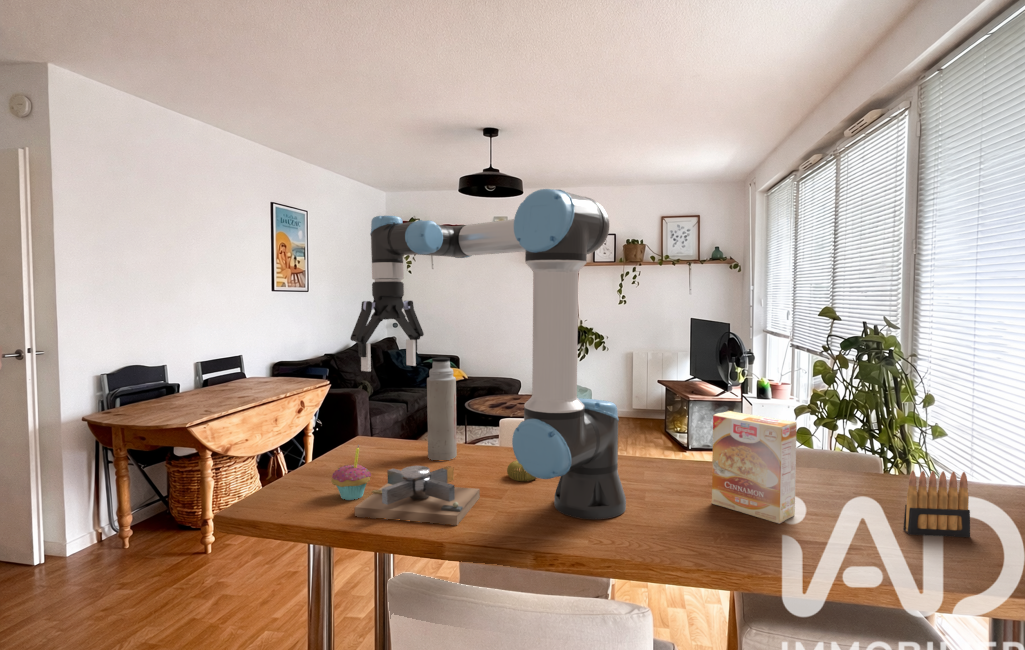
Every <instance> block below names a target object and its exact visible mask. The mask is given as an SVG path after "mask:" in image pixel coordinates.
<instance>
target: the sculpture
mask: <svg viewBox="0 0 1025 650" xmlns="http://www.w3.org/2000/svg"><path fill="white" fill-rule="evenodd" d="M506 472H507V475H508V477H509V478H510V479H511V480H513V481H516V482H530V481H533V480H535V479H537V477H534V476H532V475H531V474H529V473H528V472H526V471H525V470H524V468H523V466H522V465H521V464H519V462H518V460H517V459H516V460H514V461H512V462H510V463H509V464H508V466H507V469H506Z"/></svg>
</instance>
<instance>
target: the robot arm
mask: <svg viewBox="0 0 1025 650" xmlns="http://www.w3.org/2000/svg"><path fill="white" fill-rule="evenodd" d="M370 223H371V224H370V227H371V228H370V250H371V251H370V252H371V254H370V255H371V279H372V280H374V281H373V282H372V284H371V294H372V297H373V302H372V301H371V300H363V301H361V307H360V313H359V315H358V318H357V320H356V323H355V325H354V327H353V330H352V333H351V335H350V340H351V341H352V342H355V343H357V347H358V349H357V350H358V357H359V358H360V365H361V366H360V370H361V372H371V371H372V364H371V363H372V362H371V361H372V360H371V359H372V358H371V356H372V354H371V343H368V342H369V340H370V338H371V337H372V335H373V334H374V332H375V331H376V329H377V328H378V326H379V325H380V323H381V322H382V321H383V320H395V322H397V323H398V325H399V327H400V328H401V329H402V330H403V332H404V333H405V335H406V336H407V337H408V339H406V340H405V344H406V345H405V346H406V347H405V348H406V349H405V351H406V352H405V353H406V356H405V357H406V366H413V367H416V366H417V364H416V363H417V360H416V358H417V357H416V353H417V352H418V340H421V338H422V337H423V336H424V335H425V333H424V330H423V329H422V326H421V323H420V321H419V318H418V316H417V314H416V311H415V309H414V308H415V307H414V301H413V300H403V297H404V295H405V287H404V285H405V283H403V281H402V280H404V278H405V277H404V256H412V255H413V256H418V255H419V256H431V257H432V256H433V257H434V256H436V257H448V258H449V257H450V258H455V259H465V258H470V257H472V256H483V255H484V256H485V255H496V254H510V253H511V254H513V253H521V252H522V253H525V255H524V260H525V264H526V266H527V267H528V268H530V269H531V271H532V371H531V372H532V374H531V375H532V377H531V379H532V381H531V382H532V388H531V389H532V391H531V392H532V393H531V394H532V395H531V397H530V398H528V400H527V401H526V402H525V403H524V404H523V405H524V407H523V409H524V410H523V415H524V416H523V420H522V421H521V422H520V423H519V424H518V426H517V427H516V428H515V429H514V431H513V434H512V440H511V441H512V442H511V443H512V444H511V445H512V451H513V454H514V456H515V459H516V461H517V460H518V462H519V464H521V465H522V466H523V468H524V470H525V471H526V472H528V473H529V474H531V475H532V476H534V477H536V479H541V480H551V479H554V478H559V479H558V482H557V485H556V486H557V487H556V488H555V493H554V497H553V499H554V501H553V503H554V505H553V506H554V508H555V510H557V511H558V512H559V513H561V514H562V515H565V516H569V517H572V518H577V519H582V520H583V519H585V520H605V519H610V518H615V517H618V516H620V515H622V514H624V513H625V511H626V509H627V497H626V494H625V491H624V488H623V485H622V481H621V478H620V474H619V472H618V469H619V467H618V466H619V465H618V463H619V462H618V459H619V458H618V457H619V421H620V420H619V417H618V416H619V415H618V414H619V413H618V407H617V404H615V403H614V402H612V401H608V400H602V399H595V398H594V399H593V398H584V397H583V398H581V397H578V336H579V335H578V332H579V331H578V323H579V319H578V318H579V315H578V313H579V272H580V270H581V269H582V268H584V267H585V265H587V257H588V256H587V255H589V254H592V253H595V252H596V251H598V250H599V249H600V248H601V247H602V246H604V244H605V242H606V240H607V238H608V236H609V232H610V220H609V216H608V213H607V212H606V210H605V208H604V207H603V205H601V204H600V202H598V201H597V200H595V199H592V198H590V197H587V196H581V195H577V194H574V193H570V192H567V191H565V190H563V189H554V188H553V189H550V188H541V189H537V190H535V191H533V192H531V193H530V194H528V195H527V196H526V197H525V199H524V200H523V201H522V202H521V203H520V204H519V206H518V207H517V209H516V212H515V214H514V218H513V219H504V220H496V221H495V220H494V221H488V222H480V223H478V222H477V223H471V224H465V225H464V224H463V225H454V226H451V225H444V224H437V222H435V221H433V220H429V219H428V220H422V219H420V220H418V219H417V220H416V221H408V222H403V219H402V218H401V216H396V215H377V216H374V217H373V218H372V219H371V222H370ZM373 310H374V312H373V313H372V311H373Z"/></svg>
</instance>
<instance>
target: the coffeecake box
mask: <svg viewBox="0 0 1025 650" xmlns="http://www.w3.org/2000/svg"><path fill="white" fill-rule="evenodd" d="M797 426H798V425H797V421H790V420H787V419H786V420H785V419H779V418H774V417H773V418H772V417H767V416H761V415H755V414H749V413H744V412H743V413H742V412H738V411H730V410H729V411H728V410H727V411H725V412H719V413H715V414H712V457H711V458H712V461H711V462H712V463H711V464H712V467H711V469H712V470H711V471H712V472H711V473H712V474H711V504H713V505H716V506H719V507H723V508H726V509H729V510H733V511H736V512H738V513H743V514H746V515H750V516H752V517H757V518H759V519H762V520H765V521H769V522H773V523H775V524H779V525H780V524H782V523H783V522H785V521H787V520H788V519H791V518H792V517H795V515H796V513H795V512H796V507H795V506H796V472H797V471H796V469H797V468H796V466H797V464H796V463H797Z"/></svg>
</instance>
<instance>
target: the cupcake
mask: <svg viewBox="0 0 1025 650" xmlns="http://www.w3.org/2000/svg"><path fill="white" fill-rule="evenodd" d="M359 447H360V445H359V444H358V445H357V448H355V454H354V464H347V465H344V466H343V465H342V466H339V468H337V469H336V470H335V471H334V472H333V473H332V474H331V479H330V480H331V483H332V484H333V485H334V486H336V488H337V490H338V493H339V495H340V498H341V499H342V500H344V499H345V501H353V500H354V499H355V500H358V498H359V499H361V498H362V497H363V495H364V493H365V490H366V489H365V488H366V486H367V483H369V482H370V481H371V476H372V474H371V471H370V470H369V469H368V468H366V467H365V466H363V465H361V464H358V460H359V452H360V448H359ZM355 500H354V501H355Z"/></svg>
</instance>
